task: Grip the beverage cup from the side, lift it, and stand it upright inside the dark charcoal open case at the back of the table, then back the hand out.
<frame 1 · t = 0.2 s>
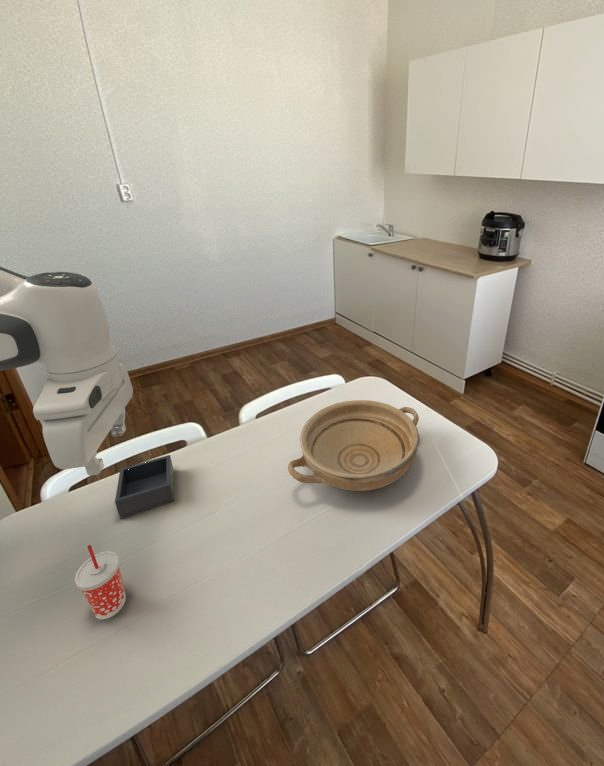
hand: (108, 451, 63), 27 cm above the table, tool pointing down, fingers open, 8 cm apart
case: (149, 493, 89), on the table
ceramic bowl: (359, 466, 96), on the table
beverage cup: (110, 605, 66), on the table
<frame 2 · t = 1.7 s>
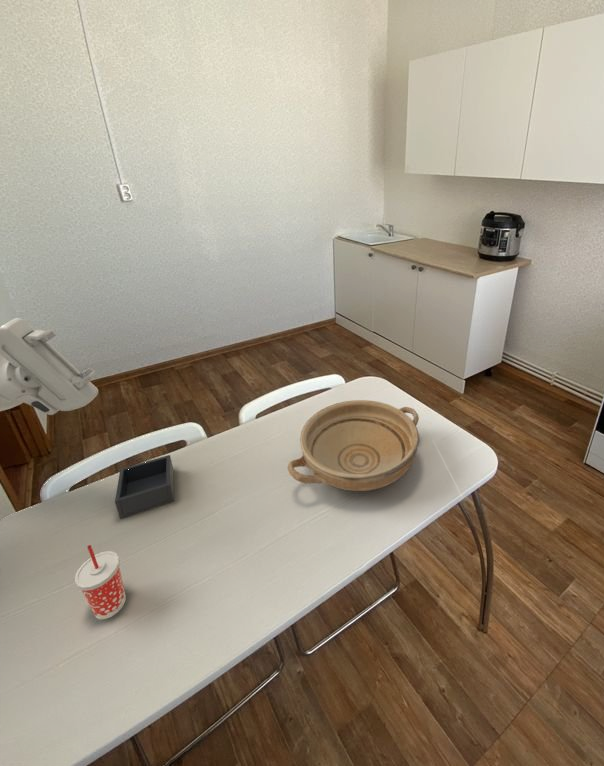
hand: (70, 353, 71), 39 cm above the table, tool pointing upward, fingers open, 8 cm apart
nothing on the table moved.
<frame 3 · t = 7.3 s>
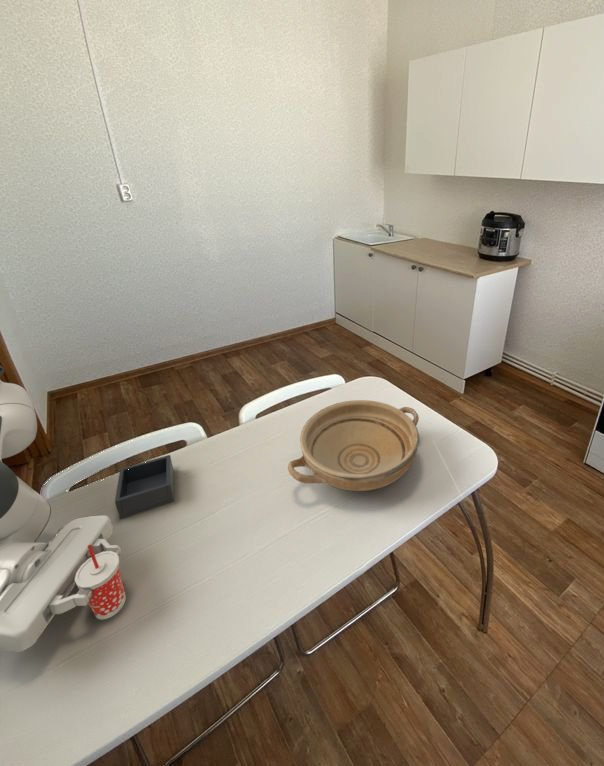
hand: (104, 573, 63), 8 cm above the table, tool horizontal, fingers closed on beverage cup, 6 cm apart
beverage cup: (110, 606, 66), on the table, touching gripper
everything else where it was.
when the fingers open (9 cm above the table, at t = 16.6 s): beverage cup stays where it is, resting on case.
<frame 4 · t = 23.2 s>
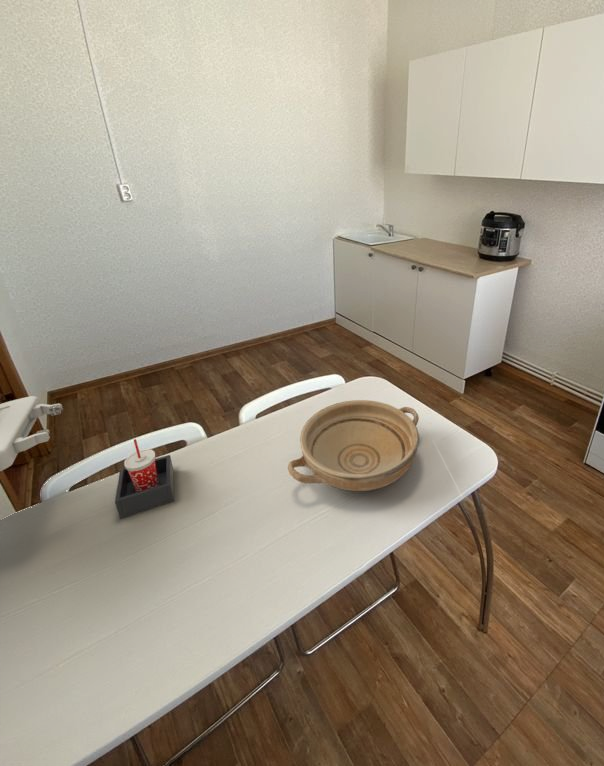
hand: (55, 420, 76), 24 cm above the table, tool horizontal, fingers open, 8 cm apart
beverage cup: (148, 490, 88), point 1 cm above the table, touching case
everything else where it was.
at the end: beverage cup 0.1 cm off-centre in the case, point 0.8 cm above the case's base; beverage cup tilted 0°; the gripper is holding nothing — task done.
